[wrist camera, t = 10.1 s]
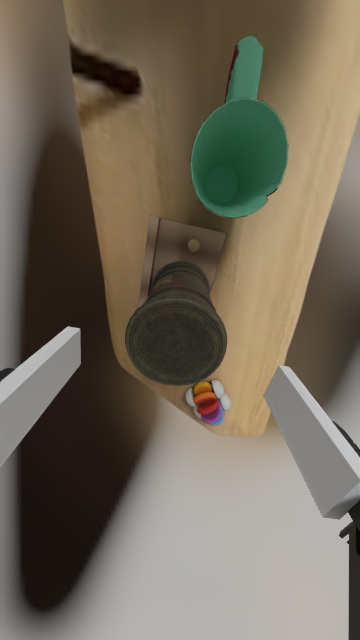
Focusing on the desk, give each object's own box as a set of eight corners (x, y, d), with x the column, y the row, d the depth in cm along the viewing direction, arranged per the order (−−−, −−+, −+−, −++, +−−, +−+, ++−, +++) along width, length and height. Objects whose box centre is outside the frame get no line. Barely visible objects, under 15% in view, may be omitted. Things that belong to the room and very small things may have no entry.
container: (216, 271, 31) (252, 315, 14) (196, 320, 34) (207, 400, 18) (162, 251, 30) (134, 275, 13) (147, 304, 33) (110, 374, 17)
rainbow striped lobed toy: (216, 371, 43) (222, 396, 36) (232, 400, 46) (240, 429, 39) (181, 384, 44) (181, 410, 38) (199, 412, 48) (201, 440, 41)
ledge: (155, 218, 31) (149, 214, 25) (222, 233, 31) (231, 233, 26) (140, 324, 38) (133, 340, 33) (195, 335, 39) (197, 351, 33)
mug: (248, 223, 31) (276, 219, 22) (186, 222, 31) (188, 217, 22) (267, 95, 25) (316, 15, 16) (190, 94, 25) (195, 12, 16)
